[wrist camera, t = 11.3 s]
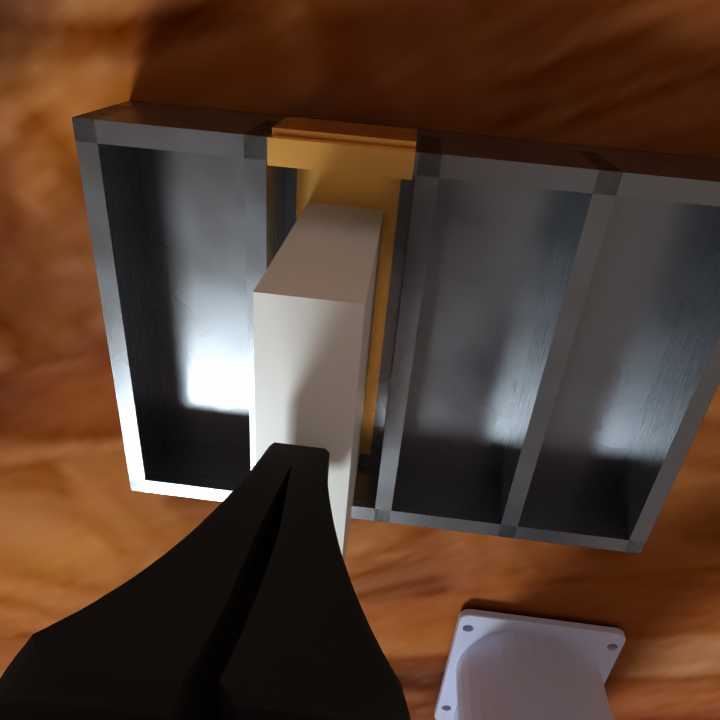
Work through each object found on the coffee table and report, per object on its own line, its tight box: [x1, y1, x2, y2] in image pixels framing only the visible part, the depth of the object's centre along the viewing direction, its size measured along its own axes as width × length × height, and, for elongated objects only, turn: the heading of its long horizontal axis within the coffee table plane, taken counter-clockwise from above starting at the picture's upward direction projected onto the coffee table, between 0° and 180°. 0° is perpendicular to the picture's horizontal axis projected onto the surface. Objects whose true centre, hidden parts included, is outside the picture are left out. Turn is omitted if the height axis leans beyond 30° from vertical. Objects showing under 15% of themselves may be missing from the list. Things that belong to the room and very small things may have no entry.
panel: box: [253, 202, 384, 560], centre depth 18 cm, size 10×2×7 cm, turn 176°
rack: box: [72, 101, 720, 554], centre depth 20 cm, size 13×19×4 cm
